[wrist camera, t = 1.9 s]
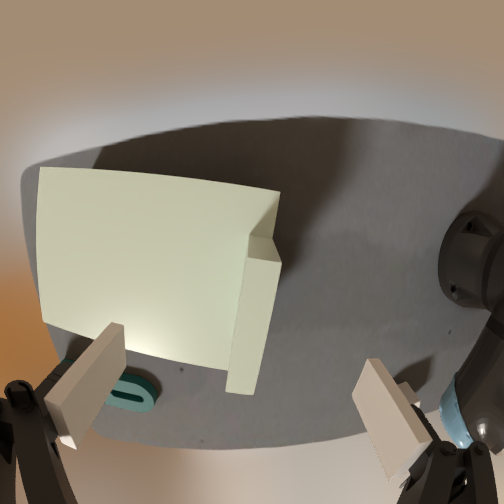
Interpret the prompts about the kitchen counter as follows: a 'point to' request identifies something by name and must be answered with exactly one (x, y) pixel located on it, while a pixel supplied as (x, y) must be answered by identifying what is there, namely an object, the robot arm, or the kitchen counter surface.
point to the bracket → (131, 393)
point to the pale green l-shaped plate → (160, 264)
